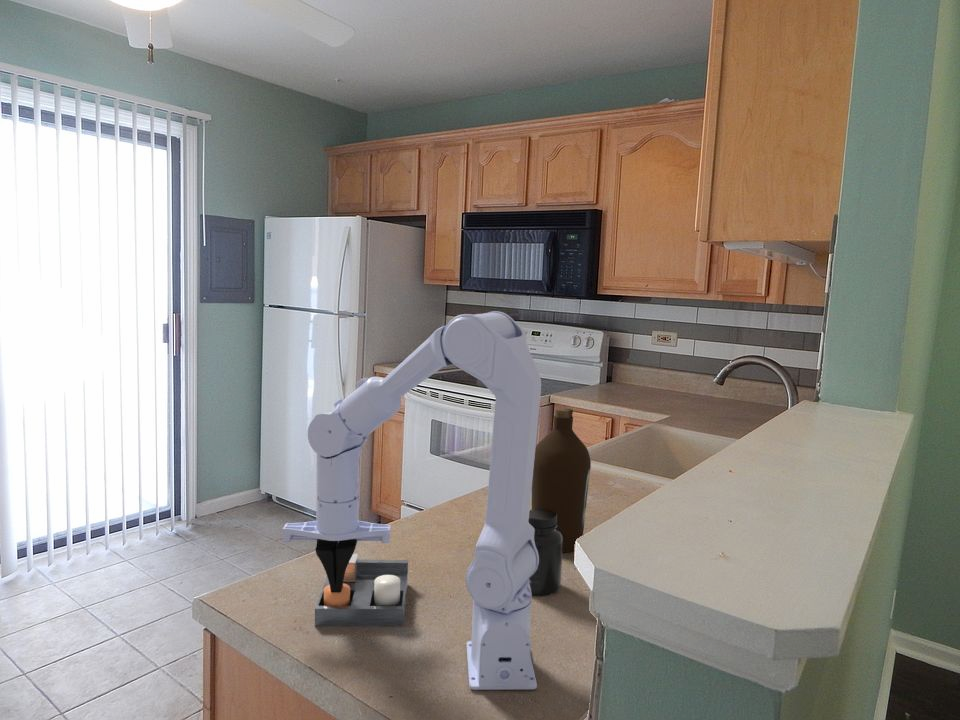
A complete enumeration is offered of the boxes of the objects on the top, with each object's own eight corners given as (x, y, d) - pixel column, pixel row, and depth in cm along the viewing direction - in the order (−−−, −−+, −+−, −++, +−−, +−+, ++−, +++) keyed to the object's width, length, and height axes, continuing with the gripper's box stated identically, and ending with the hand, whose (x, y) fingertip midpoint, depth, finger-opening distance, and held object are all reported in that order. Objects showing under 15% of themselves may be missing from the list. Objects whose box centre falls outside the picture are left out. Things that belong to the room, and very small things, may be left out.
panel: (403, 626, 89) (403, 598, 88) (314, 625, 88) (314, 598, 88) (407, 584, 101) (408, 559, 100) (329, 583, 100) (329, 559, 99)
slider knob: (355, 581, 95) (355, 562, 95) (334, 581, 95) (334, 562, 95) (357, 572, 98) (357, 553, 98) (337, 572, 98) (337, 553, 98)
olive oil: (534, 555, 113) (542, 415, 110) (522, 531, 123) (528, 402, 120) (593, 553, 114) (602, 415, 111) (576, 530, 125) (583, 403, 121)
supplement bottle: (533, 572, 106) (536, 502, 105) (568, 586, 102) (572, 513, 101) (507, 587, 101) (511, 513, 100) (544, 602, 97) (548, 525, 95)
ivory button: (399, 607, 90) (399, 586, 89) (372, 607, 90) (373, 586, 89) (400, 594, 93) (401, 574, 93) (375, 594, 93) (375, 574, 93)
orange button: (348, 615, 89) (348, 595, 89) (321, 615, 89) (321, 595, 89) (351, 602, 93) (351, 582, 93) (326, 602, 93) (326, 582, 92)
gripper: (393, 487, 93) (391, 576, 95) (290, 485, 92) (290, 575, 94) (389, 504, 86) (387, 600, 88) (278, 503, 85) (278, 599, 87)
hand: (336, 589), depth 91 cm, fingers closed, pressing on orange button
